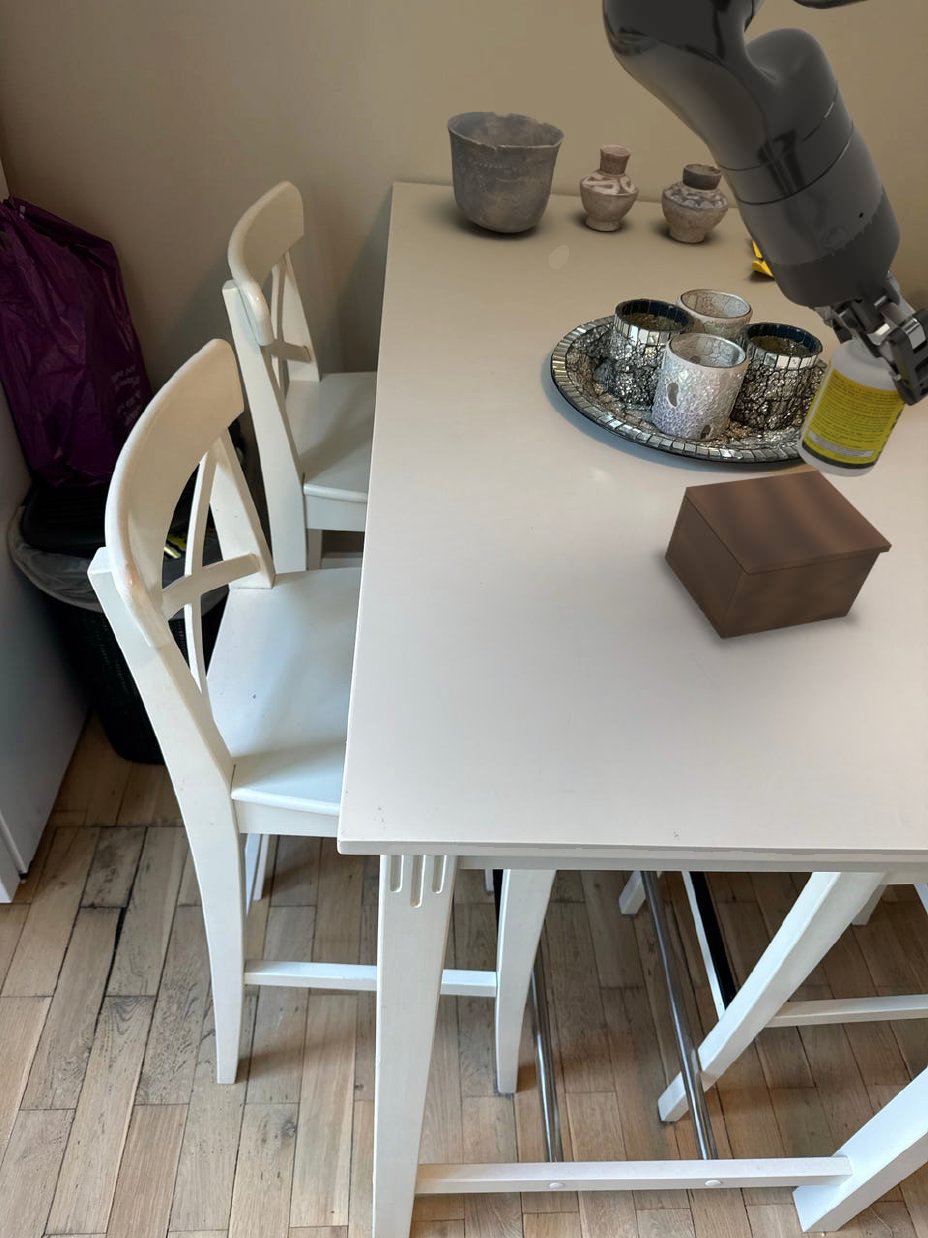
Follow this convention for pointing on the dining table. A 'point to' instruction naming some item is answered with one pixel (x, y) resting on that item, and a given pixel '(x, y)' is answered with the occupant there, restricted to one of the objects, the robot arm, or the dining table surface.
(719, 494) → the lid
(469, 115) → the bowl
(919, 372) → the robot arm
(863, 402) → the pill bottle
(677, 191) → the pottery
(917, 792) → the dining table surface
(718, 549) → the chest
